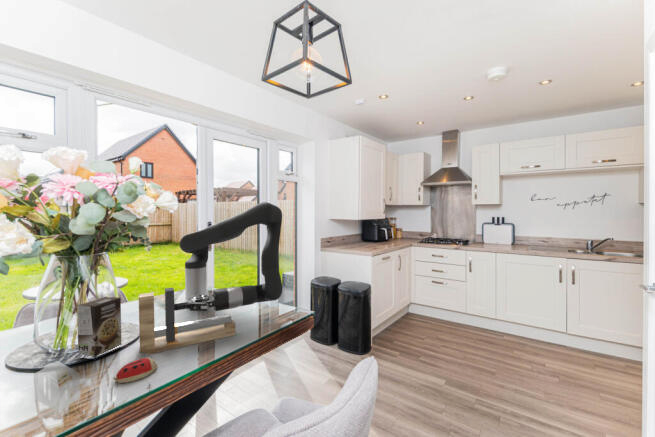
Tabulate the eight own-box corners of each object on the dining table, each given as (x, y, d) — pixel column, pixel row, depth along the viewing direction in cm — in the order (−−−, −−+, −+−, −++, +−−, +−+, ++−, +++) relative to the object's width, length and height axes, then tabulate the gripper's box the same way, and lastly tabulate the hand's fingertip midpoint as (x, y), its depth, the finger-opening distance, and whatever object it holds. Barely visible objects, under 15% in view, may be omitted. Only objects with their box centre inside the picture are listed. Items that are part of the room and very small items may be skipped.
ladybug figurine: (162, 371, 80) (161, 358, 80) (120, 389, 72) (120, 375, 72) (150, 364, 84) (150, 351, 84) (109, 380, 76) (109, 367, 76)
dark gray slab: (165, 336, 98) (164, 288, 97) (173, 334, 99) (172, 287, 99) (166, 341, 94) (165, 291, 93) (175, 340, 95) (174, 290, 95)
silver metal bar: (147, 337, 94) (147, 329, 94) (230, 320, 108) (229, 313, 108) (147, 340, 92) (147, 331, 92) (231, 322, 106) (231, 315, 106)
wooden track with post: (140, 344, 96) (139, 292, 95) (230, 325, 111) (230, 280, 111) (139, 356, 88) (138, 299, 88) (237, 334, 104) (236, 286, 103)
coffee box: (95, 361, 86) (93, 306, 85) (77, 358, 87) (75, 304, 86) (122, 346, 94) (121, 297, 94) (106, 344, 96) (105, 296, 95)
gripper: (223, 284, 112) (172, 291, 102) (232, 292, 100) (175, 300, 91) (223, 303, 112) (172, 312, 103) (232, 314, 101) (175, 324, 91)
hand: (173, 306), depth 97 cm, fingers closed
